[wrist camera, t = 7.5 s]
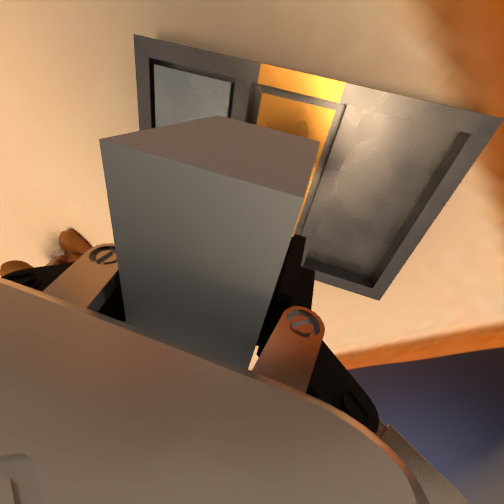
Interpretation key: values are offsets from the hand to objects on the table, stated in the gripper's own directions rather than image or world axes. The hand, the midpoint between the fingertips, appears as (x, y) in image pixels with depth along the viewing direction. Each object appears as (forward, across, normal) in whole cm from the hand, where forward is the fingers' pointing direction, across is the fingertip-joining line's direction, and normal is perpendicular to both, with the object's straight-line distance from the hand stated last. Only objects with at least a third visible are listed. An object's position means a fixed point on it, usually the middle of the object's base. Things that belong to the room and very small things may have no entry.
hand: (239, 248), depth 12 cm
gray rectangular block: (+1, 0, 0) cm, 1 cm away
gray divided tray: (+11, 0, 0) cm, 11 cm away
